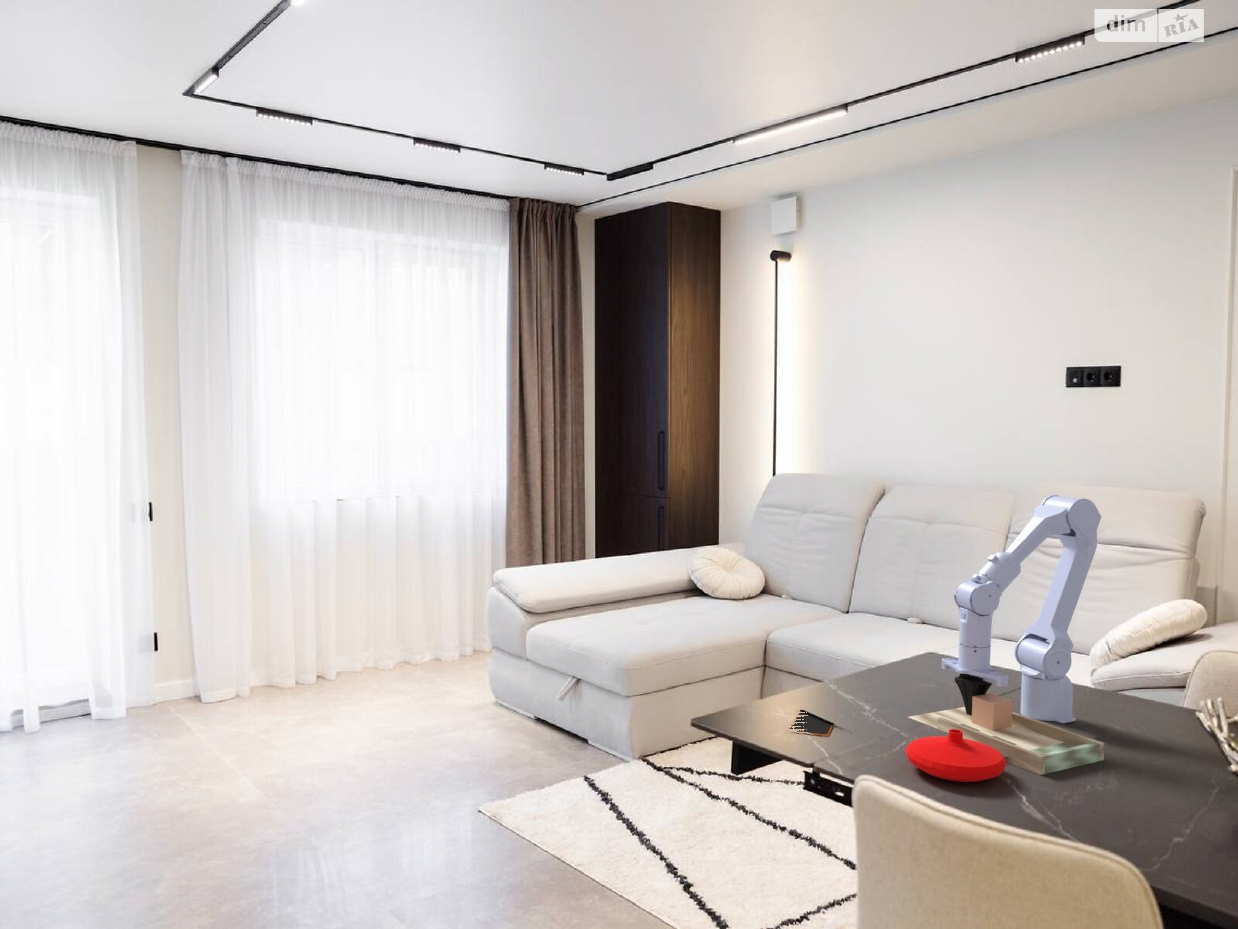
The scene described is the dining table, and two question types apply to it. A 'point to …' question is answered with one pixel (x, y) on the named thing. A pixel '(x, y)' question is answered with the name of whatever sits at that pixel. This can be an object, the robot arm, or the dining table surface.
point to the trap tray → (1023, 741)
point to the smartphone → (813, 724)
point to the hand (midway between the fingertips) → (972, 714)
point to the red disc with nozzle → (955, 757)
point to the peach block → (992, 711)
